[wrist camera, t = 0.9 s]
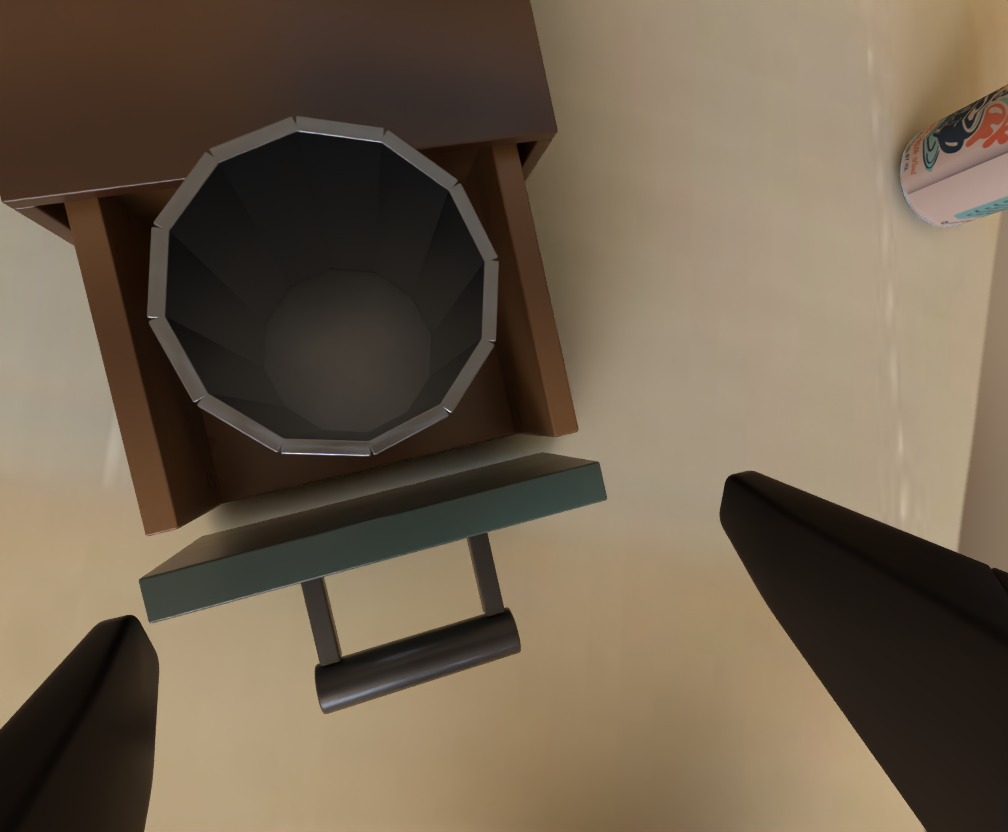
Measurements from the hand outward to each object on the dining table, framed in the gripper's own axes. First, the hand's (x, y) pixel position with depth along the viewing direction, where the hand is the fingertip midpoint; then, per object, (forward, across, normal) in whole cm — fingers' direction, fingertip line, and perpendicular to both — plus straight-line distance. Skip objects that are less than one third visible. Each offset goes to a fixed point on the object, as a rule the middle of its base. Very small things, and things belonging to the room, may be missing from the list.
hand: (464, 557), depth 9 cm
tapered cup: (+14, +1, +3) cm, 14 cm away
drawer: (+13, +1, +5) cm, 14 cm away
